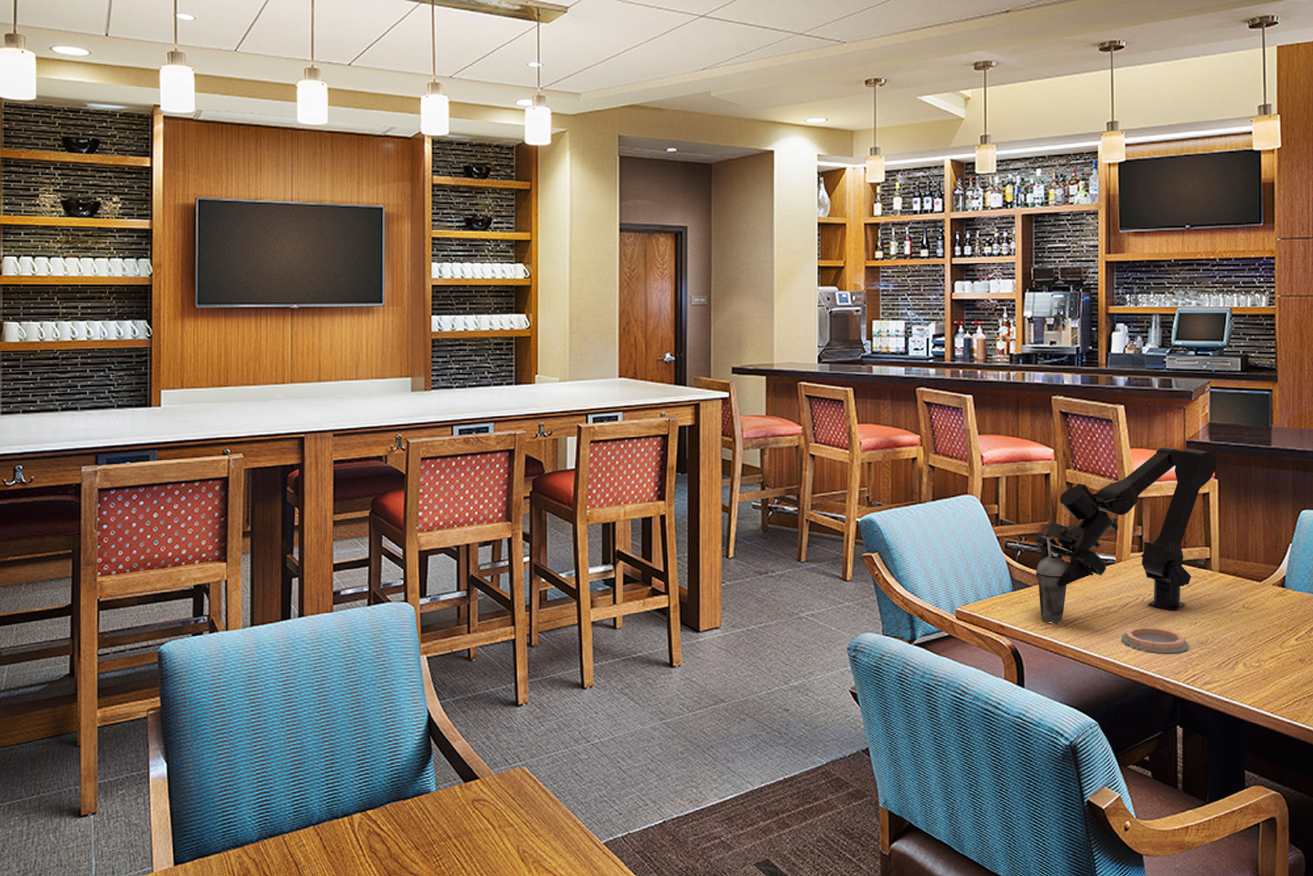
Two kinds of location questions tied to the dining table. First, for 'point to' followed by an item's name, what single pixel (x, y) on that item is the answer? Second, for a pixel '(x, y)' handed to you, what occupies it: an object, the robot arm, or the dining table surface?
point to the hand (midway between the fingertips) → (1047, 581)
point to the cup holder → (1155, 640)
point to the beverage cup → (1051, 587)
